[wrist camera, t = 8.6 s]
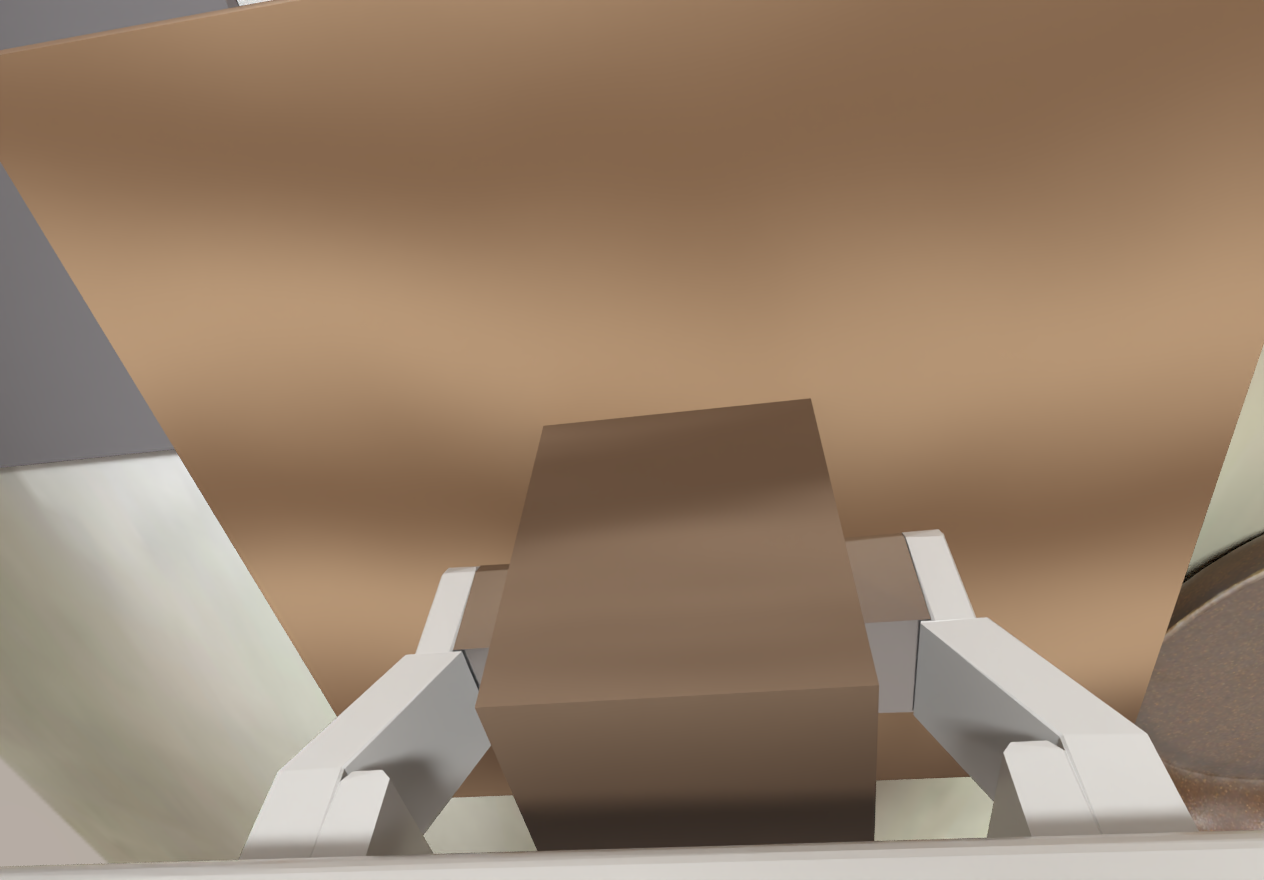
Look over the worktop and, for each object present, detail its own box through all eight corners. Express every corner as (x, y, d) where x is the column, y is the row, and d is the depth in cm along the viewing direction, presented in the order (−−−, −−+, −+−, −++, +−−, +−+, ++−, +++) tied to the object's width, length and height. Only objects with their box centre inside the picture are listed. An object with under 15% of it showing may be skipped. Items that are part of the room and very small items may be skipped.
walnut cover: (-11, 52, 10) (-603, 217, 5) (1388, -205, 8) (2371, -289, 3) (397, 768, 19) (306, 1059, 15) (1102, 736, 17) (1260, 1064, 13)
